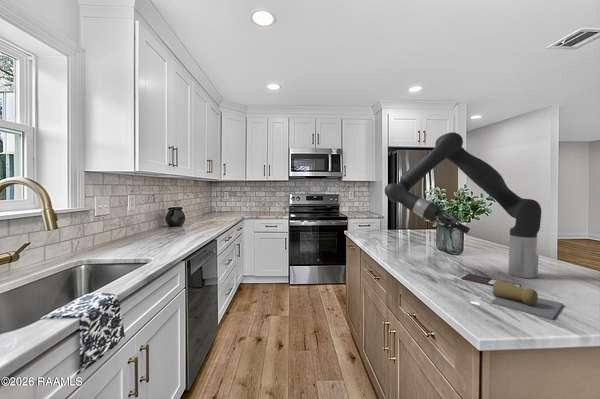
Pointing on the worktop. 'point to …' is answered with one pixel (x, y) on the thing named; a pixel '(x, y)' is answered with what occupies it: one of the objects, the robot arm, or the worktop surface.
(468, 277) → the chocolate bar
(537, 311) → the mat
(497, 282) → the cork
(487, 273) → the worktop surface
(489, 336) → the worktop surface
